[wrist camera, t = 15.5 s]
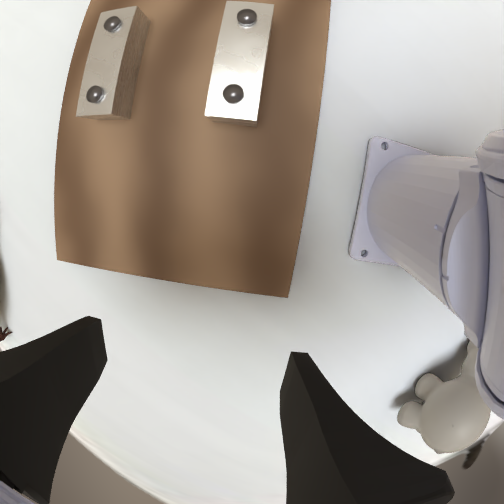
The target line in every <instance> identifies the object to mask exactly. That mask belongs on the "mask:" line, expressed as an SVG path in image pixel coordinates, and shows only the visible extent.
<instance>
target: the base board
mask: <svg viewBox="0 0 504 504" xmlns="http://www.w3.org/2000/svg"><path fill="white" fill-rule="evenodd" d="M226 1H243V2H256V3H266V4H274V11H273V22H272V29H271V35H270V41H269V48H268V54H267V61H266V67H265V74H264V81H263V87H262V94H261V101H260V107H259V114H258V121H257V127H253V126H245V125H237V124H227V123H216V122H212V121H211V120H209V119H208V118H207V117H206V116H205V110H206V104H207V97H208V91H209V85H210V79H211V74H212V68H213V63H214V58H215V52H216V47H217V42H218V37H219V33H220V28H221V23H222V19H223V14H224V10H225V6H226ZM330 5H331V0H91V1H90V4H89V7H88V9H87V12H86V15H85V17H84V20H83V23H82V26H81V29H80V32H79V35H78V39H77V42H76V46H75V49H74V53H73V56H72V60H71V64H70V68H69V73H68V77H67V82H66V87H65V92H64V97H63V103H62V109H61V115H60V123H59V130H58V139H57V150H56V164H55V187H54V215H55V239H56V252H57V260H60V261H65V262H69V263H74V264H79V265H84V266H89V267H94V268H99V269H105V270H110V271H115V272H121V273H126V274H131V275H137V276H143V277H149V278H154V279H160V280H166V281H172V282H178V283H185V284H191V285H198V286H204V287H211V288H218V289H225V290H232V291H239V292H246V293H254V294H261V295H269V296H277V297H285V298H288V294H289V290H290V285H291V280H292V275H293V270H294V265H295V260H296V254H297V249H298V244H299V238H300V233H301V228H302V222H303V216H304V211H305V205H306V199H307V193H308V187H309V181H310V174H311V168H312V162H313V155H314V148H315V141H316V134H317V127H318V120H319V112H320V104H321V96H322V88H323V79H324V71H325V61H326V51H327V41H328V30H329V18H330ZM132 6H138V7H139V9H140V10H141V11H142V12H143V13H144V14H145V15H146V16H147V18H148V19H149V20H150V21H151V23H150V27H149V30H148V34H147V38H146V42H145V46H144V50H143V54H142V58H141V63H140V67H139V72H138V77H137V82H136V87H135V93H134V98H133V104H132V110H131V117H130V119H115V120H93V119H88V118H82V117H76V112H77V105H78V100H79V94H80V89H81V84H82V79H83V74H84V70H85V66H86V61H87V57H88V54H89V50H90V46H91V43H92V39H93V36H94V33H95V29H96V26H97V23H98V20H99V17H100V14H101V12H106V11H110V10H115V9H120V8H126V7H132Z"/></svg>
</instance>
